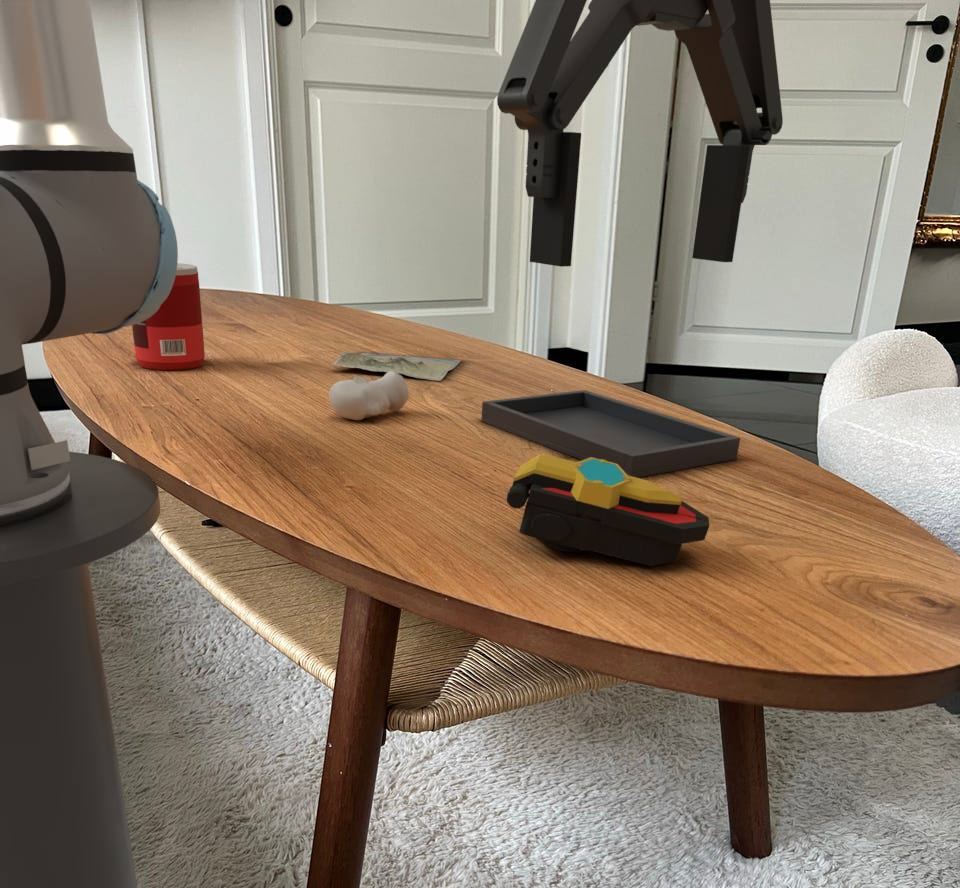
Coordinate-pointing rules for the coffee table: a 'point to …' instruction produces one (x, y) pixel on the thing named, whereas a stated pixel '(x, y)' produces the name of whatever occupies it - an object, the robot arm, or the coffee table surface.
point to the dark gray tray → (611, 432)
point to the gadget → (602, 510)
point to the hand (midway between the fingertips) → (636, 262)
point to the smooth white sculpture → (368, 396)
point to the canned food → (173, 327)
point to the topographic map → (399, 364)
